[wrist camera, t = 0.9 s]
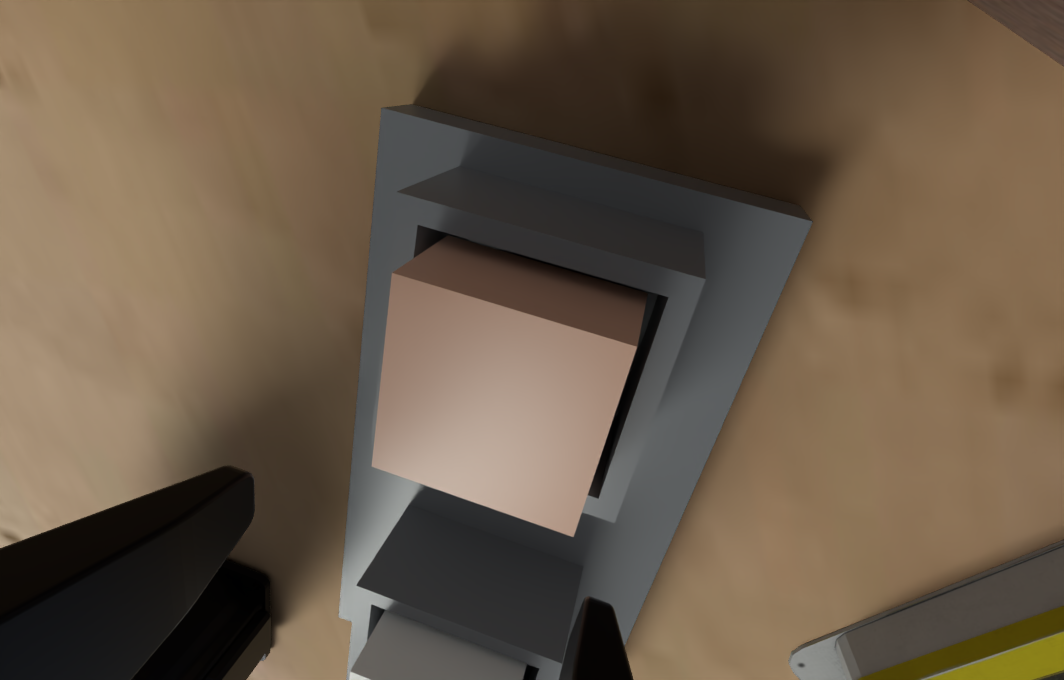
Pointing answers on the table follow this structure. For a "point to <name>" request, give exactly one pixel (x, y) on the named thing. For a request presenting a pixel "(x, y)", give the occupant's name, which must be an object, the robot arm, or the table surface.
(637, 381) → the key panel
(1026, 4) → the tissue box cover
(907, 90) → the table surface
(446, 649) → the key white
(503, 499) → the key terracotta
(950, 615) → the emergency button
